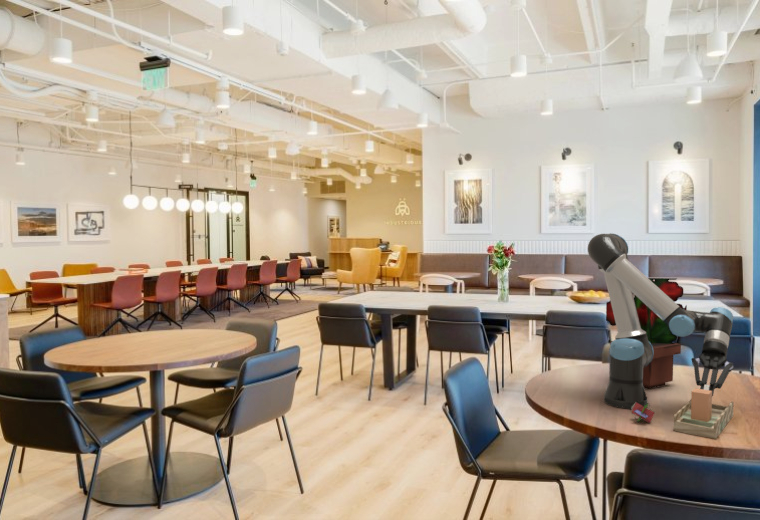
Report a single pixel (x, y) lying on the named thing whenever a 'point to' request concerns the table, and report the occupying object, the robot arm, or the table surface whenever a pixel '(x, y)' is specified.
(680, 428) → the beige open frame
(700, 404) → the block
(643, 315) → the potted plant
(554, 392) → the table surface
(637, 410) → the icosahedron model
